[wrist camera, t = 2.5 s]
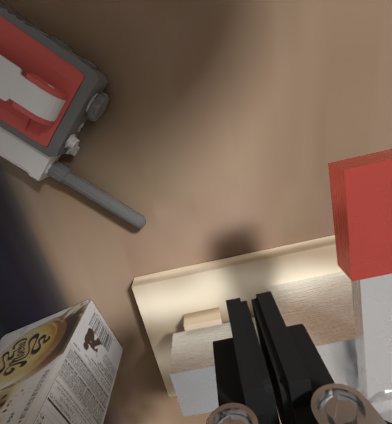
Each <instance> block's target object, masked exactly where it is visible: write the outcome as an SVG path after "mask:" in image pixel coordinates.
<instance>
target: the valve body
mask: <svg viewBox="0 0 392 424" xmlns="http://www.w3.org/2000/svg"><path fill="white" fill-rule="evenodd" d="M265 289H266V292H269V291H270V292H271V293H272V295H273V298H274V300H275V302H276V304H277V307H278V309H279V311H280V313H281V315H282V318H283V320H284V322H285V324H286V326H292V325H297V324H303V325H304V327H305V328H306V330H307V332H308V334H309V336H310V338H311V339H312V341H313V343H314V345H315V347H316V349H317V351H318V353H319V354H320V356H321V358H322V360H323V362H324V364H325V366H326V367H327V369H328V371H329V373H330V375H331V377H332V379H333V380H334V382H335V384H344V385H347V386H350V387H352V385H353V383H354V381H355V380H356V378H357V377H358V364H357V351H356V339H355V326H354V313H353V300H352V287H351V279H350V278H349V277H348V276H347V275H346V274H345V273H344V272H343V271H341V272H336V273H331V274H327V275H322V276H317V277H312V278H307V279H302V280H297V281H292V282H287V283H283V284H278V285H273V286H268V287H265ZM252 320H253V323H254V326H255V330H256V333H257V336H258V332H257V327H256V322H255V317H254V318H252ZM232 337H233V336H232V331H231V326H230V322H229V323H224V324H219V325H214V326H209V327H204V328H199V329H194V330H189V331H184V332H179V333H174V334H173V338H172V351H171V364H170V377H171V380H172V383H173V386H174V389H175V392H176V395H177V398H178V401H179V404H180V407H181V410H182V413H183V416H184V417H185V416H191V415H196V414H202V413H207V412H212V411H214V410H215V409H216V408H218V407H219V404H218V394H217V384H216V373H215V363H214V353H213V341H218V340H222V339H227V338H232ZM258 340H259V337H258ZM259 343H260V342H259Z"/></svg>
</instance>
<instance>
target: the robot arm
mask: <svg viewBox="0 0 392 424" xmlns="http://www.w3.org/2000/svg"><path fill="white" fill-rule="evenodd" d="M251 302H252V307H253V312H254V317H255V322H256V327H257V332H258V336H257V333H256V330H255V326H254V323H253V320H252V317H251V313H250V310H249V307H248V303H247V300H246V301H241V299H240V298H235V299H231V300H226V305H227V310H228V315H229V321H230V326H231V331H232V336H233V337H232V338H227V339H222V340H218V341H213V353H214V363H215V373H216V384H217V394H218V404H219V407H218V408H216V409H215V410H214V411H213V412H212V413H211V414H210V415H209V417H208V419H207V420H206V424H280V422H279V417H278V413H279V416H280V420H281V423H282V424H392V423H390V422H388V421H386V420H384V419H383V418H382V417H381V415H380V414H379V413H378V412H377V411H376V409H375V408H374V407H373V406H372V405H371V403H370V402H369V401H368V400H367V398H366V397H365V396H363V395H362V394H361V393H360V392H359V391H357V390H356V389H354V388H352V387H350V386H347V385H344V384H335V382H334V380H333V379H332V377H331V375H330V373H329V371H328V369H327V367H326V366H325V364H324V362H323V360H322V358H321V356H320V354H319V353H318V351H317V349H316V347H315V345H314V343H313V341H312V339H311V338H310V336H309V334H308V332H307V330H306V328H305V327H304V325H303V324H297V325H292V326H286V324H285V322H284V320H283V318H282V315H281V313H280V311H279V309H278V307H277V304H276V302H275V300H274V298H273V295H272V293H271V292H270V291H269V292H264V293H260V294H256V298H255V299H251ZM258 337H259V340H258ZM259 342H260V343H259ZM276 406H277V407H276ZM277 410H278V412H277Z"/></svg>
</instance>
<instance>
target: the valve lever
mask: <svg viewBox="0 0 392 424" xmlns="http://www.w3.org/2000/svg"><path fill="white" fill-rule="evenodd" d="M328 165H329V176H330V187H331V198H332V209H333V220H334V231H335V242H336V253H337V264H338V266H339V267H340V268H341V269H342V271H343V272H344V273H345V274H346V275H347V276H348V277H349V278H350V279H351V287H352V300H353V313H354V326H355V339H356V351H357V364H358V377H357V378H356V380H355V381H354V383H353V385H352V388H354V389H356V390H357V391H359V392H360V393H361V394H362V395H363V396H365V397H366V398H367V400H368V401H369V402H370V403H371V405H372V406H373V407H374V408H375V409H376V411H377V412H378V413H379V414H380V415H381V417H382V418H383V419H384V420H386V421H388V422H392V149H390V150H386V151H381V152H377V153H372V154H368V155H363V156H359V157H354V158H350V159H346V160H341V161H337V162H332V163H328Z"/></svg>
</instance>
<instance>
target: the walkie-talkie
mask: <svg viewBox="0 0 392 424" xmlns="http://www.w3.org/2000/svg"><path fill="white" fill-rule="evenodd" d="M97 68H98V67H97V66H95V65H94V64H93V63H91V62H90V61H88V60H87V59H85V58H83V57H79V56H78V55H76V54H75V53H73V52H72V51H71V49H70V47H69V46H67V45H66V44H64V43H63V42H62V41H60V40H59V39H57V38H55V37H53V36H49V35H48V34H46V33H44V32H42V30H41V29H39V28H37V27H35V25H34V24H32V23H30V22H28V21H27V19H25V18H23V17H21V16H20V15H19V14H18V13H17V12H15V11H13V10H11V8H10V7H8V6H6V5H4V4H3V3H2V2H1V1H0V156H1V157H3V158H5V159H6V160H8V161H10V162H11V163H13V164H14V165H16V166H18V167H19V168H21V169H23V170H24V171H26V172H27V173H28V174H29V176H30V177H32V178H34V179H35V180H37V181H41V180H43V179H45V178H47V177H48V176H49V177H51V178H52V179H54V180H56V181H57V182H59V183H60V184H62V183H64V184H66V185H67V186H69V187H71V188H72V189H74V190H76V191H77V192H79V193H81V194H82V195H84V196H85V197H87V198H89V199H90V200H92V201H94V202H95V203H97V204H98V205H100V206H102V207H103V208H105V209H107V210H108V211H110V212H112V213H113V214H115V215H116V216H118V217H120V218H121V219H123V220H125V221H126V222H128V223H129V224H131V225H133V226H134V227H136V228H142V227H144V225H145V223H146V220H145V218H144V216H142V215H140V214H139V213H137V212H136V211H134V210H132V209H131V208H129V207H128V206H126V205H124V204H123V203H121V202H120V201H118V200H116V199H115V198H113V197H112V196H110V195H108V194H107V193H105V192H104V191H102V190H100V189H99V188H97V187H96V186H94V185H92V184H91V183H89V182H88V181H86V180H84V179H83V178H81V177H80V176H78V175H76V174H75V173H73V172H72V171H71V169H70V168H69V167H67V166H65V165H64V164H62V163H61V162H59V161H58V160H59V158H60V156H61V155H62V154H65V153H66V154H71V155H73V156H75V155H76V154H77V152H78V151H79V149H80V147H79V146H78V143H79V141H80V140H79V139H78V138H77V137H78V135H79V133H80V131H81V130H82V128H83V126H84V124H85V122H86V121H87V119H89V120H91V121H97V120H98V119H99V117H100V116H101V115H102V114H103V112H104V111H105V109H106V107H107V105H108V102H109V96H108V95H107V94H106V93H103V90H104V88H105V87H106V85H107V83H108V81H107V79H106V76H105V74H103V73H102V72H100V71H99V70H97Z"/></svg>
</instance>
